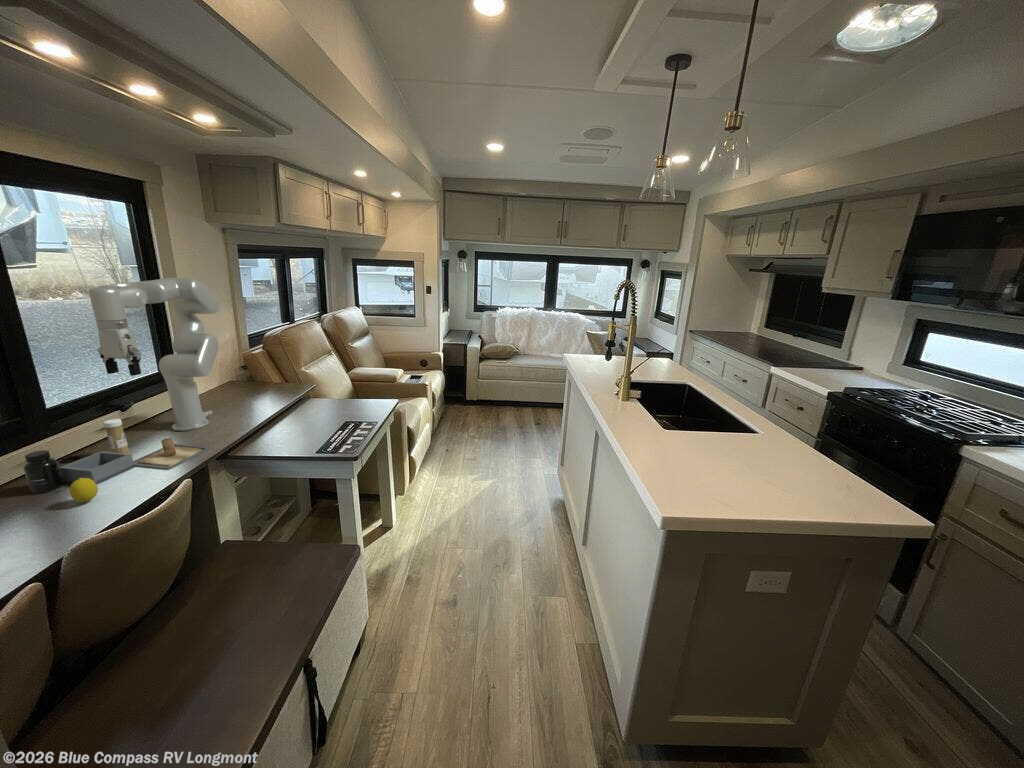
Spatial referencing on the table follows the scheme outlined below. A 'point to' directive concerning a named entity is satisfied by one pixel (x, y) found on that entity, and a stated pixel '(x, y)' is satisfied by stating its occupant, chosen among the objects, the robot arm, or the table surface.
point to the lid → (169, 454)
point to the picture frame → (174, 464)
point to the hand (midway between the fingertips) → (124, 373)
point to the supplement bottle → (42, 472)
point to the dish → (97, 467)
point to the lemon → (83, 490)
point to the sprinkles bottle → (116, 436)
